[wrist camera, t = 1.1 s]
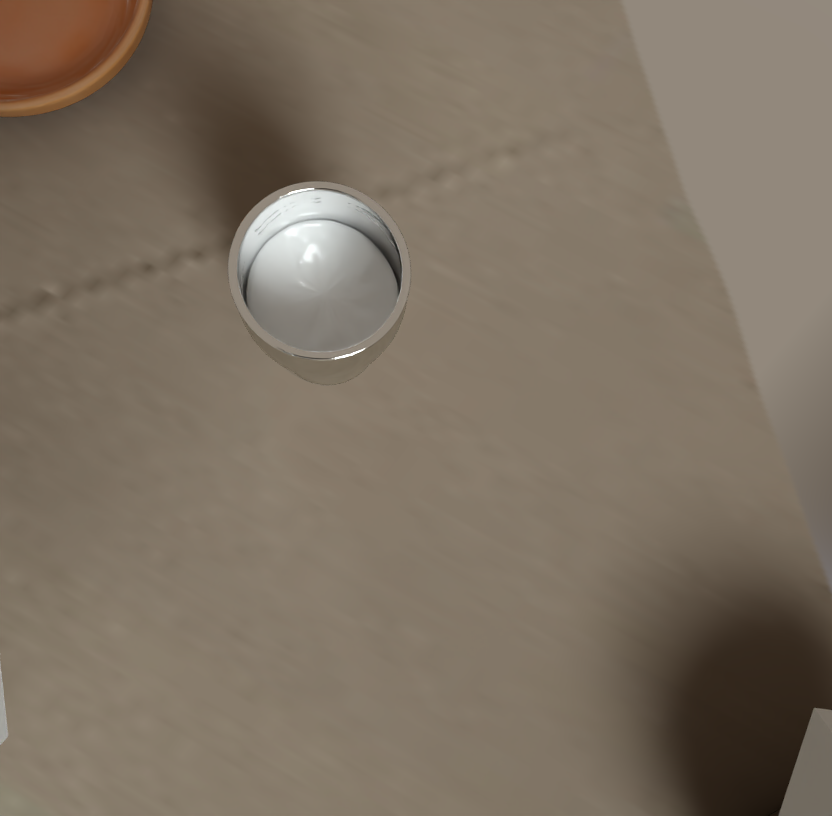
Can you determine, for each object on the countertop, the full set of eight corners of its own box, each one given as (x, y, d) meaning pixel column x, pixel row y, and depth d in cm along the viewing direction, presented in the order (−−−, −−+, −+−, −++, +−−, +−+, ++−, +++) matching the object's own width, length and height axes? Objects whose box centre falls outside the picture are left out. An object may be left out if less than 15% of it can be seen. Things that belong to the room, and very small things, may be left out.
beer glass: (301, 413, 37) (277, 400, 22) (246, 307, 37) (185, 224, 22) (406, 360, 38) (450, 313, 23) (352, 256, 38) (362, 143, 23)
